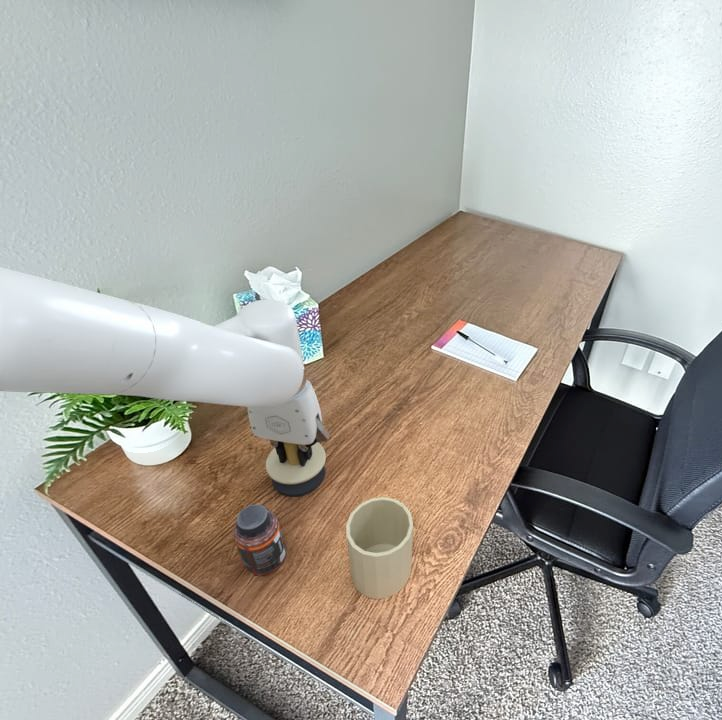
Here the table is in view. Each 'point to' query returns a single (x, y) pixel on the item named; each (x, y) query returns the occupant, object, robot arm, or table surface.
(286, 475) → the tin lid
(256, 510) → the supplement bottle
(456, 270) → the table surface
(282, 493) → the mat
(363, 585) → the tin
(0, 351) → the robot arm
